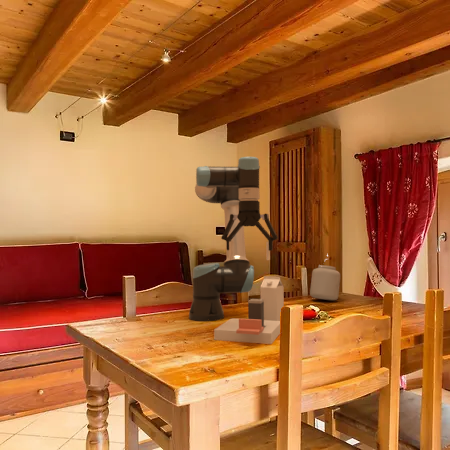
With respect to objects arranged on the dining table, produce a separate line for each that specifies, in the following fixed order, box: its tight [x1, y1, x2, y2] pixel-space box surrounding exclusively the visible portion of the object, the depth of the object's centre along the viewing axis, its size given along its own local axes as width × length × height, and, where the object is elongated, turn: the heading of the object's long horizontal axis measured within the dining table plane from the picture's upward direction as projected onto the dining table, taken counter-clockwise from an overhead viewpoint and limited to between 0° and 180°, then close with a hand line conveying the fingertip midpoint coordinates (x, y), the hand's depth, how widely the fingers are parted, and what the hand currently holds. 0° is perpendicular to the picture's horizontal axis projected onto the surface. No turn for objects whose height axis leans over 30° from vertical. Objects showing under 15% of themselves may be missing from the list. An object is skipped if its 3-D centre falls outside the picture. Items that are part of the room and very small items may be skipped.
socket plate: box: [213, 318, 281, 345], centre depth 154 cm, size 20×20×4 cm
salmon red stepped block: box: [236, 317, 264, 335], centre depth 143 cm, size 8×8×4 cm
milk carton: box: [259, 275, 285, 321], centre depth 173 cm, size 7×7×19 cm
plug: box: [247, 298, 264, 327], centre depth 151 cm, size 4×4×13 cm
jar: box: [309, 254, 341, 301], centre depth 229 cm, size 19×15×25 cm
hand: (249, 259), depth 153 cm, fingers open, 13 cm apart
